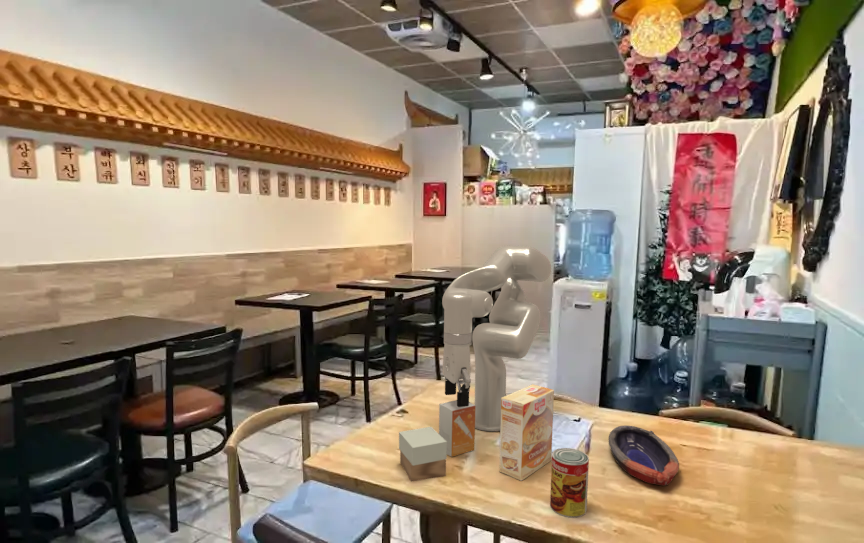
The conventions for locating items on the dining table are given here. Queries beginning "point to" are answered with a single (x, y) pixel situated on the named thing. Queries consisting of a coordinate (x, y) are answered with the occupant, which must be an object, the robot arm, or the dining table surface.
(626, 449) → the dish
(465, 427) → the small box
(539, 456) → the coffeecake box
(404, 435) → the tower top
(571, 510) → the canned food
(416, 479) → the tower base
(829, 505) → the dining table surface
